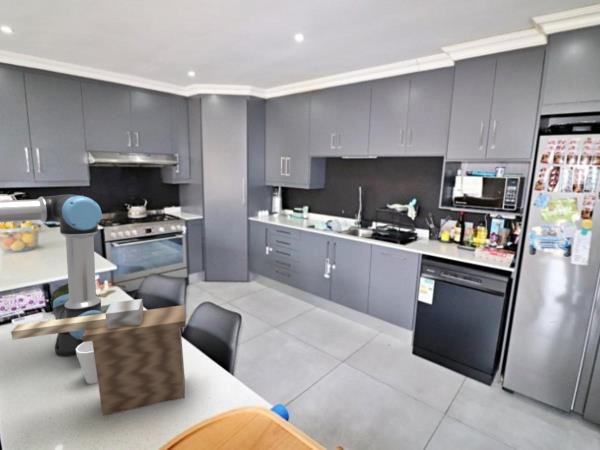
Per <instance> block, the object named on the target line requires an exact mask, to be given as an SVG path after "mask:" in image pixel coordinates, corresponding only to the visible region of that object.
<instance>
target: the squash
mask: <svg viewBox="0 0 600 450" xmlns="http://www.w3.org/2000/svg"><path fill="white" fill-rule="evenodd" d="M66 294H69V287H68V283H66V284H63V285H62V286H61V287H59V288H57V289H56V290H55V291H54V292H53V293H52V295H51V298H50V306H51V309H52V310H53V311H54V308H53V301H54V300H55V299H56V298H58V297H60V296H63V295H66Z"/></svg>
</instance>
